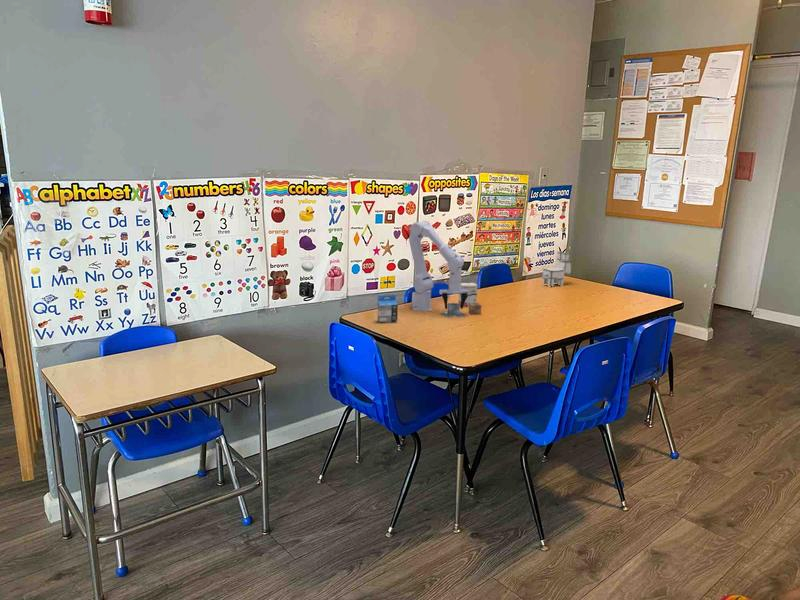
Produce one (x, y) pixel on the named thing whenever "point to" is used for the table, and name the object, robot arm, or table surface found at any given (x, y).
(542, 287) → the table surface
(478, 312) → the walnut block
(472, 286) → the ink box
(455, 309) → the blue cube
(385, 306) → the label tape box
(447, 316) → the letter card
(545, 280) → the toy llama
